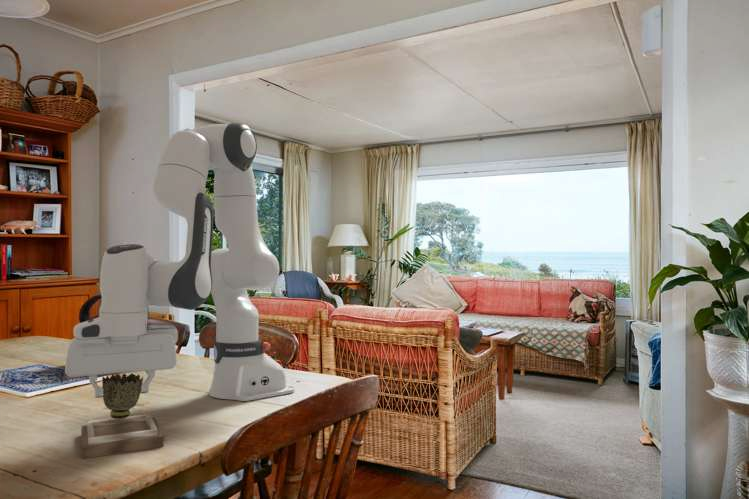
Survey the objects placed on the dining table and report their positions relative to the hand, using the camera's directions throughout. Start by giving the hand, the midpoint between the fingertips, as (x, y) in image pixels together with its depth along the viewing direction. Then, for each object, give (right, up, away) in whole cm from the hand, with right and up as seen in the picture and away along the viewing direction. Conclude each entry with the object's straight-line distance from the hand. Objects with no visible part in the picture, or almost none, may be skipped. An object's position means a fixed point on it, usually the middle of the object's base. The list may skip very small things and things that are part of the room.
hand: (122, 394), depth 109 cm
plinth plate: (0, -9, 0) cm, 9 cm away
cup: (0, -5, 0) cm, 5 cm away
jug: (-35, -9, +71) cm, 80 cm away
